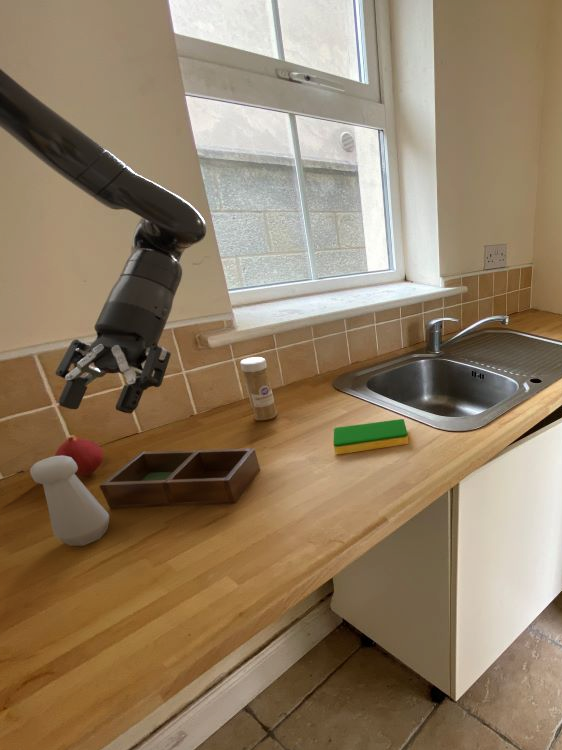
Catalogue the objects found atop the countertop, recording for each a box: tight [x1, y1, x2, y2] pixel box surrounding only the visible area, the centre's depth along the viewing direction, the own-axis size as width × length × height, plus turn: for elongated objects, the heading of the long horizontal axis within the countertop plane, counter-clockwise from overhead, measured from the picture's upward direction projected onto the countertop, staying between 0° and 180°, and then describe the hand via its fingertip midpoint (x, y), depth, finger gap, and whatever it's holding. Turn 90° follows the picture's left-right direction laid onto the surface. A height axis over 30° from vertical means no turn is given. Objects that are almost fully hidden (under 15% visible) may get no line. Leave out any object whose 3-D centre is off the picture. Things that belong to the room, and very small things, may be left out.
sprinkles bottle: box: [239, 356, 278, 422], centre depth 96 cm, size 5×5×14 cm
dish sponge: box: [333, 418, 409, 455], centre depth 91 cm, size 7×14×2 cm, turn 111°
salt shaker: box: [29, 455, 110, 547], centre depth 62 cm, size 6×6×13 cm
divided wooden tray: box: [99, 448, 261, 510], centre depth 75 cm, size 18×10×5 cm, turn 97°
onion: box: [54, 435, 105, 477], centre depth 76 cm, size 6×6×8 cm
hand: (95, 409), depth 65 cm, fingers open, 8 cm apart
